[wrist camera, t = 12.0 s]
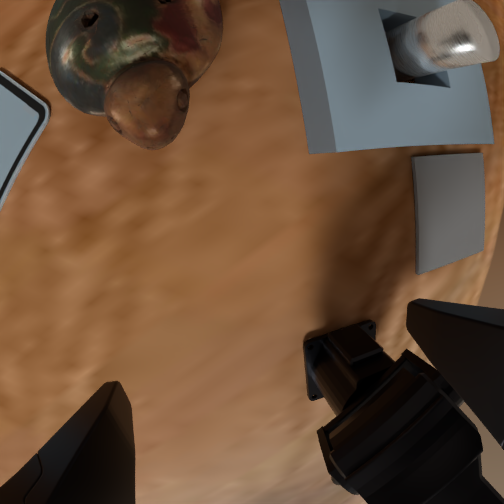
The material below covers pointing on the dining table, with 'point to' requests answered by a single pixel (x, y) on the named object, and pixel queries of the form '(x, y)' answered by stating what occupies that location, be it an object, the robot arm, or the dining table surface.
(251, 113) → the dining table surface
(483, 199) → the rubber mat
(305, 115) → the blue peg hole block
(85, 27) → the decorative turtle
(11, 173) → the smartphone
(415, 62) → the steel pin
